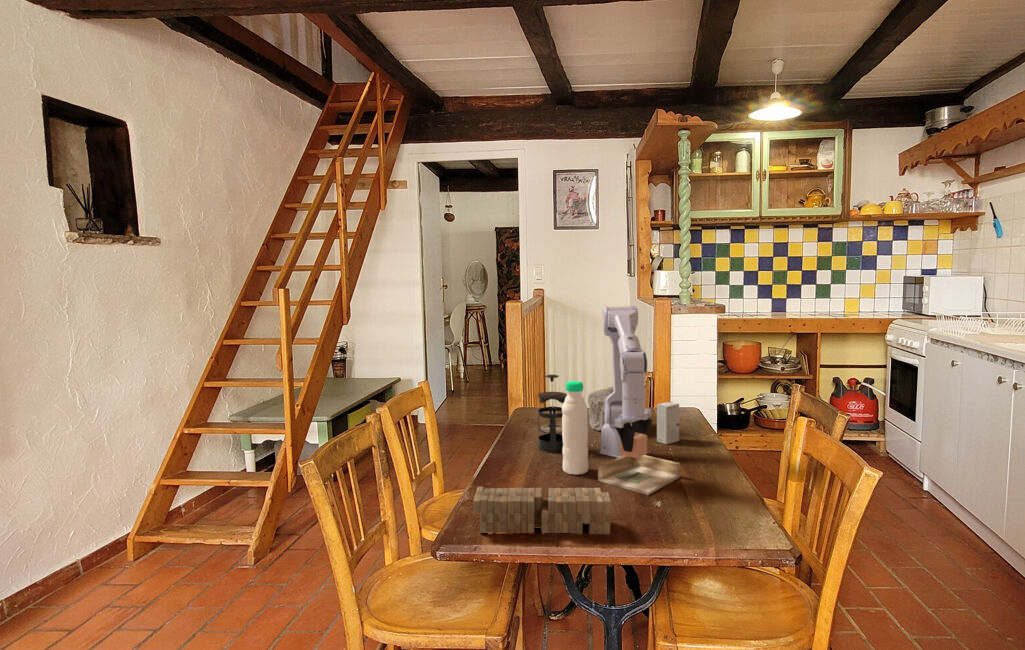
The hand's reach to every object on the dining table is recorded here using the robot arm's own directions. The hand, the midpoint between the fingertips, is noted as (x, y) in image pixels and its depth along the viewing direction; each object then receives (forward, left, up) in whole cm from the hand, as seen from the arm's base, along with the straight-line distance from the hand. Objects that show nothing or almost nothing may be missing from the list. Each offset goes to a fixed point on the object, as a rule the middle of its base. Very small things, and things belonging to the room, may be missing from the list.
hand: (633, 448), depth 157 cm
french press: (-34, +7, -9) cm, 35 cm away
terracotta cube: (0, 0, -2) cm, 2 cm away
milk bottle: (-16, -5, -9) cm, 18 cm away
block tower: (0, -37, -9) cm, 38 cm away
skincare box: (-10, +35, -9) cm, 38 cm away
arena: (+1, +1, -8) cm, 9 cm away
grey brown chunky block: (-31, +37, -9) cm, 49 cm away
